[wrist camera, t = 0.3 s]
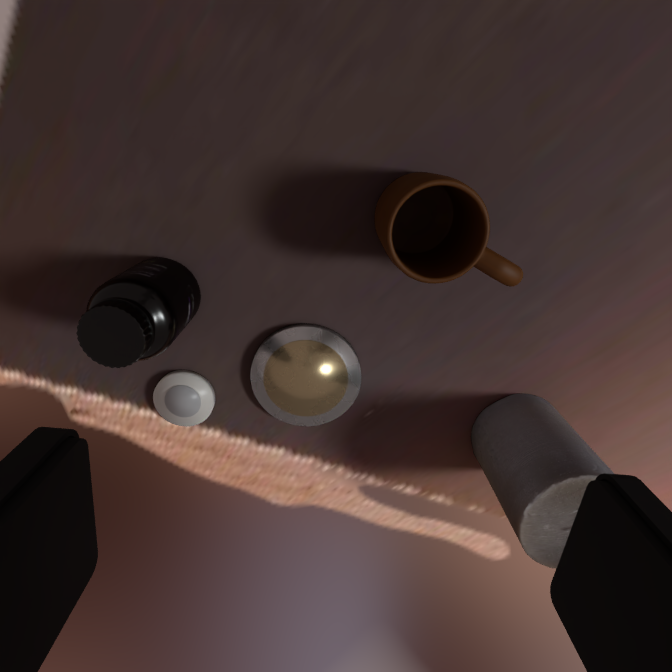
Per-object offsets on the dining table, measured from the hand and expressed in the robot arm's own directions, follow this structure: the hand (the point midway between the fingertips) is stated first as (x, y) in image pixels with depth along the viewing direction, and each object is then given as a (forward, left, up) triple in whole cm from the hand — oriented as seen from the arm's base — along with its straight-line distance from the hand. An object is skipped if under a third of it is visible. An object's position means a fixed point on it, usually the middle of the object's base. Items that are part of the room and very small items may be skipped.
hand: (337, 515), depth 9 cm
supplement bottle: (+8, -14, -36) cm, 39 cm away
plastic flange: (+19, -12, -35) cm, 42 cm away
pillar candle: (+19, +23, -36) cm, 46 cm away
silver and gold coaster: (+15, 0, -35) cm, 38 cm away
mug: (-1, +10, -36) cm, 37 cm away
